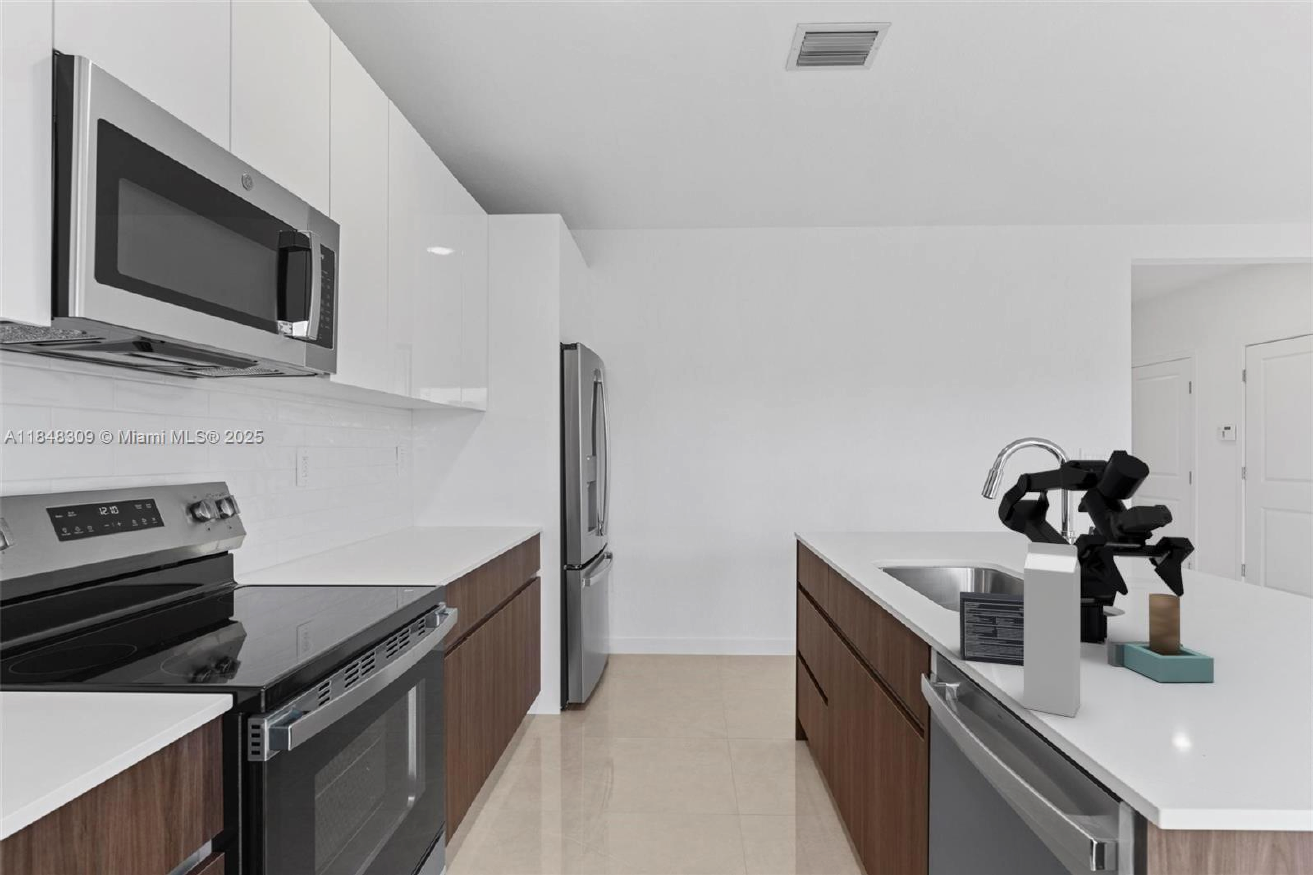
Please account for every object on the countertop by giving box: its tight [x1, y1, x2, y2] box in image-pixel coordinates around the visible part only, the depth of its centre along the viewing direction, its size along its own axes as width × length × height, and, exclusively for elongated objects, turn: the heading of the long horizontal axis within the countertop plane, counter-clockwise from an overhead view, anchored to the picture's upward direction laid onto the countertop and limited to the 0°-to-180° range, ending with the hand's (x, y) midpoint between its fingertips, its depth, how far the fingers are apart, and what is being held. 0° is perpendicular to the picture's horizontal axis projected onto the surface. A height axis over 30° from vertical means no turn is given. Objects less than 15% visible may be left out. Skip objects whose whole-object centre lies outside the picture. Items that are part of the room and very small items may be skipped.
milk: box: [1023, 541, 1081, 718], centre depth 102 cm, size 6×6×22 cm
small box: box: [959, 591, 1024, 666], centre depth 125 cm, size 11×6×10 cm, turn 71°
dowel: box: [1148, 593, 1181, 656], centre depth 117 cm, size 4×4×12 cm
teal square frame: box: [1124, 644, 1215, 683], centre depth 117 cm, size 8×8×4 cm
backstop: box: [1107, 641, 1184, 668], centre depth 122 cm, size 2×11×4 cm, turn 92°
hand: (1153, 594), depth 120 cm, fingers open, 9 cm apart
